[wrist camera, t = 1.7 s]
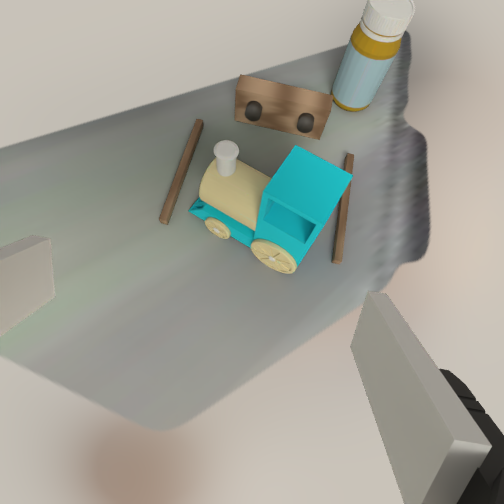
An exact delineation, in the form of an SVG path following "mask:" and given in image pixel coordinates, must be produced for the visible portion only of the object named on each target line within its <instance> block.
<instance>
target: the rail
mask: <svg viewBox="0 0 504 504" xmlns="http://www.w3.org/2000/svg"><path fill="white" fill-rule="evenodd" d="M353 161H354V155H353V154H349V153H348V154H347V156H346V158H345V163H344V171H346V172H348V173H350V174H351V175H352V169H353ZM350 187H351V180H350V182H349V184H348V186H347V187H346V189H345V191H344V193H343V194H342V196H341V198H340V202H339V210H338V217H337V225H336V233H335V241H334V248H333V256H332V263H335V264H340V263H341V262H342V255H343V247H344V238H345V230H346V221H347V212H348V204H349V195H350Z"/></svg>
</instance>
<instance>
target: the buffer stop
mask: <svg viewBox="0 0 504 504" xmlns="http://www.w3.org/2000/svg"><path fill="white" fill-rule="evenodd" d="M332 101H333V95H329V94H324V93H320V92H316V91H311V90H307V89H302V88H298V87H294V86H289V85H285V84H280V83H276V82H272V81H267V80H263V79H258V78H254V77H250V76H245V75H240V78H239V81H238V84H237V87H236V97H235V121H240V122H244V123H248V124H253V125H257V126H261V127H266V128H270V129H275V130H279V131H283V132H288V133H292V134H296V135H301V136H305V137H310V138H314V139H318V140H320V137H321V134H322V132H323V129H324V127H325V124H326V122H327V119H328V117H329V114H330V112H331V107H332Z"/></svg>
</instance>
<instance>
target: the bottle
mask: <svg viewBox="0 0 504 504" xmlns="http://www.w3.org/2000/svg"><path fill="white" fill-rule="evenodd" d="M414 12H415V5H414V2H413V1H412V0H368V1H367V4H366V7H365V9H364V12H363V16H362V18H361V21H360V23H359V24H358V25H357V27H356V28H355V29H354V31H353V34H352V35H351V38H350V41H349V43H348V46H347V49H346V51H345V54H344V57H343V60H342V62H341V65H340V68H339V71H338V73H337V76H336V79H335V81H334V84H333V87H332V91H331V94H332V95H333V100H334V101H335V103H336V104H337V105H338V106H339V107H340V108H342V109H344V110H346V111H351V112H356V111H360V110H363V109H365V108H367V107H368V106H369V104H370V103H371V101H372V99H373V97H374V96H375V94H376V92H377V90H378V88H379V86H380V84H381V82H382V80H383V78H384V77H385V75H386V73H387V71H388V69H389V67H390V65H391V63H392V61H393V60H394V58H395V56H396V54H397V52H398V50H399V48H400V43H401V37H402V36H403V34H404V31H405V29H406V28H407V26H408V24H409V22H410V20H411V18H412V16H413V14H414Z"/></svg>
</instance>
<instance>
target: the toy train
mask: <svg viewBox="0 0 504 504" xmlns="http://www.w3.org/2000/svg"><path fill="white" fill-rule="evenodd" d="M214 154H215V156H216V158H215V159H214V160H213V161H212V162H211V163H210V165H209V166H208V168H207V170H206V171H205V173H204V175H203V178H202V180H201V183H200V188H199V198H198V199H197V201H196V202H195V203H194V204H193V206H192V207H191V208H190V209H189V212H191V213H192V214H194V215H196V216H197V217H199V218H201V219H202V220H204V221H205V225H206V226H207V228H208V229H209V230H210V231H211V232H212V233H214V234H215V235H217V236H218V237H220V238H223V239H228V238H229V237H230V236H231V237H233V238H234V239H236V240H238V241H240V242H241V243H243V244H245V245H246V246H248V247H250V248H251V250H252V252H253V253H254V255H255V256H256V257H257V258H258V259H259V260H260V261H261V262H263V263H264V264H266V265H267V266H269V267H270V268H272V269H274V270H276V271H279V272H282V273H288V274H289V273H294V271H295V270H296V268H297V267H298V265H299V264H300V262H301V261H302V259H303V257H304V256H305V254H306V253H307V251H308V250H309V248H310V247H311V245H312V244H313V242H314V241H315V239H316V237H317V236H318V234H319V233H320V231H321V230H322V228H323V227H324V225H325V223H326V222H327V220H328V218H329V217H330V215H331V213H332V211H333V210H334V208H335V206H336V205H337V203H338V201H339V199H340V198H341V196H342V194H343V193H344V191H345V189H346V187H347V186H348V184H349V182H350V180H351V179H352V177H353V175H351V174H350V173H348V172H346V171H344V170H342V169H340V168H338V167H336V166H334V165H333V164H331V163H329V162H327V161H325V160H323V159H321V158H319V157H318V156H316V155H314V154H312V153H310V152H308V151H306V150H304V149H302V148H301V147H299V146H297V145H295V146H294V148H293V149H292V151H291V152H290V154H289V155H288V156H287V158H286V159H285V161H284V162H283V163H282V165H281V166H280V168H279V169H278V170H277V172H276V173H275V175H274V176H273V178H270V177H268V176H267V175H265V174H263V173H261V172H259V171H257V170H256V169H254V168H252V167H250V166H248V165H247V164H245V163H243V162H241V161H239V160H238V159H236V157H237V156H238V154H239V148H238V146H237V145H236V144H235V143H234V142H232V141H230V140H222V141H220V142H218V143H217V144H216V145H215V147H214Z"/></svg>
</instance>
